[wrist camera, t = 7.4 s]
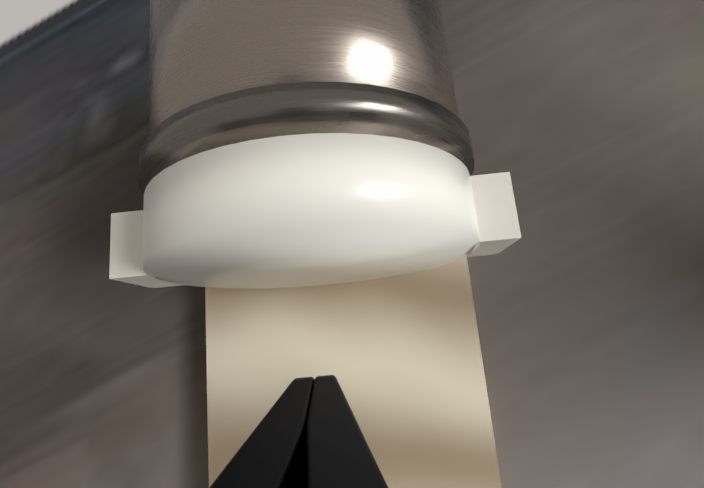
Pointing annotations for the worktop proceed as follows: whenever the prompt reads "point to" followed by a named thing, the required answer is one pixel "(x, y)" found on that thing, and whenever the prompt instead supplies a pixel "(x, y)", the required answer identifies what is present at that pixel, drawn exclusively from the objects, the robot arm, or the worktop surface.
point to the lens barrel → (296, 75)
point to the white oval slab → (310, 214)
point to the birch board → (361, 369)
